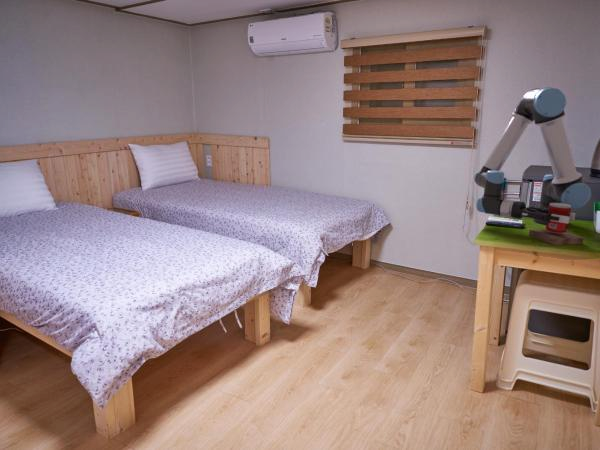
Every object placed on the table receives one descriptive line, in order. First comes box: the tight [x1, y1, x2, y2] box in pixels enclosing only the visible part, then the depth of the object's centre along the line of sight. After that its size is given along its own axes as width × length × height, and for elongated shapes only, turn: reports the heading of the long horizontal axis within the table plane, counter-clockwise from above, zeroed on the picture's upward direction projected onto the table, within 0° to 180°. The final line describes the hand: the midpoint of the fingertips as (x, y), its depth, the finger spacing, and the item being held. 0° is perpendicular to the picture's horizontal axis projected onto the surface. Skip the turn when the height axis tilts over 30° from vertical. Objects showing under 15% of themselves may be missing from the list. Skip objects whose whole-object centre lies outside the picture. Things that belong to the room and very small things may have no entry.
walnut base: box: [528, 228, 584, 246], centre depth 190 cm, size 14×14×2 cm
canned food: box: [545, 203, 572, 233], centre depth 188 cm, size 8×8×11 cm
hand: (571, 218), depth 185 cm, fingers closed on canned food, 8 cm apart
